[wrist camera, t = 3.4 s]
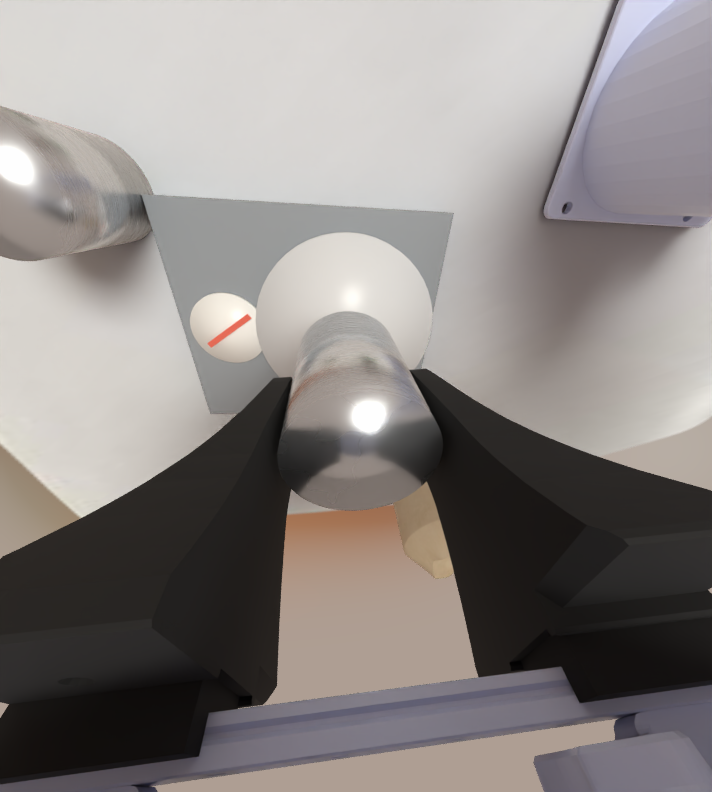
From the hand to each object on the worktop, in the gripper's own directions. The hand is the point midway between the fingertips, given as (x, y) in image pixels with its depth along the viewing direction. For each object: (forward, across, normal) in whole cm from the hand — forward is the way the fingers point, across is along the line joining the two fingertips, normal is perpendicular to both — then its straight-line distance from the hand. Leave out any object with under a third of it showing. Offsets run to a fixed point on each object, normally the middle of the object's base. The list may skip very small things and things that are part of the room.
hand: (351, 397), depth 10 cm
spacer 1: (+8, +10, -6) cm, 15 cm away
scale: (+8, +2, 0) cm, 9 cm away
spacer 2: (+2, 0, 0) cm, 2 cm away
